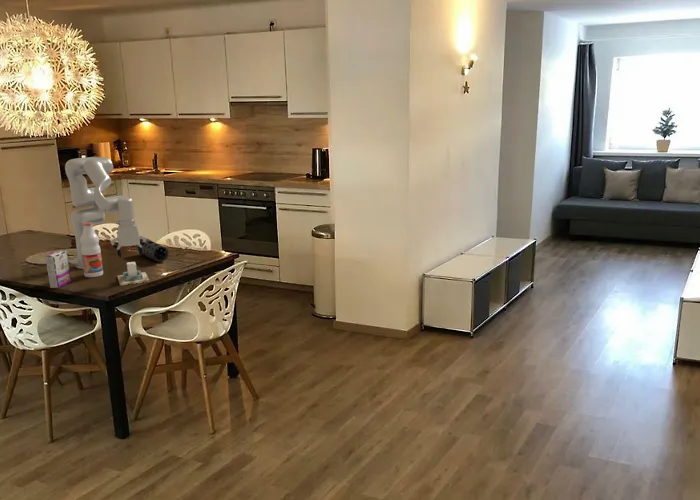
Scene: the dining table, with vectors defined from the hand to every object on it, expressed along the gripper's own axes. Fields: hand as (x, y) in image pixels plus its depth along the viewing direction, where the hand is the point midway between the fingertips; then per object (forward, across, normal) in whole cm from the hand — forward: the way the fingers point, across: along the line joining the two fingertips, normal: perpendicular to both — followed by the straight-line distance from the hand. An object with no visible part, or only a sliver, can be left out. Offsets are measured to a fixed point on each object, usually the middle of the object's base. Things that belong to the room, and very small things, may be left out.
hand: (130, 255), depth 323 cm
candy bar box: (+13, -34, +6) cm, 37 cm away
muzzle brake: (+14, +14, +38) cm, 43 cm away
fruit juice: (+13, -18, +17) cm, 28 cm away
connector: (+11, 0, -1) cm, 11 cm away
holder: (+12, 0, -1) cm, 12 cm away
